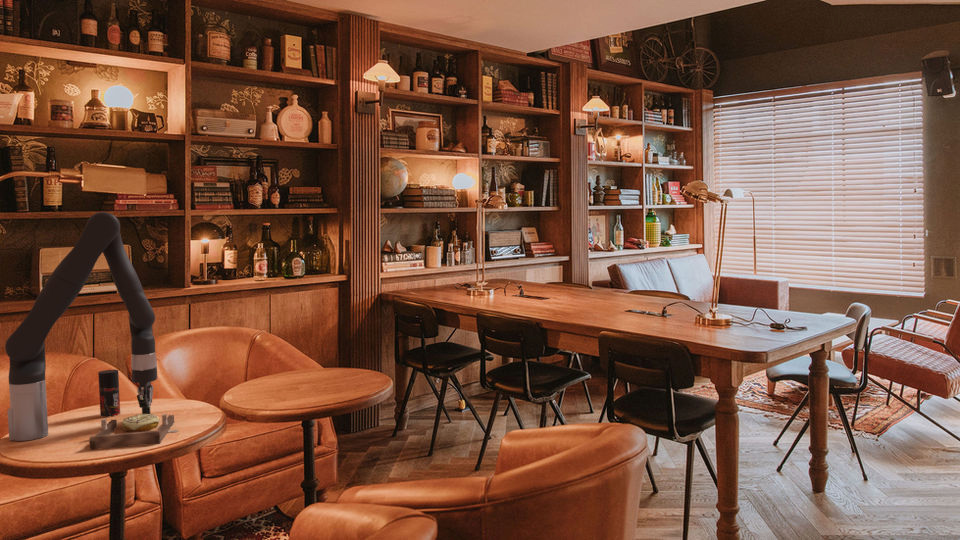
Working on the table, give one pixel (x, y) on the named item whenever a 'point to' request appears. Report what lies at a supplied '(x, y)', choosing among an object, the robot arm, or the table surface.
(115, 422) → the u-shaped frame
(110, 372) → the deodorant
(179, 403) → the table surface
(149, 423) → the decorated donut
